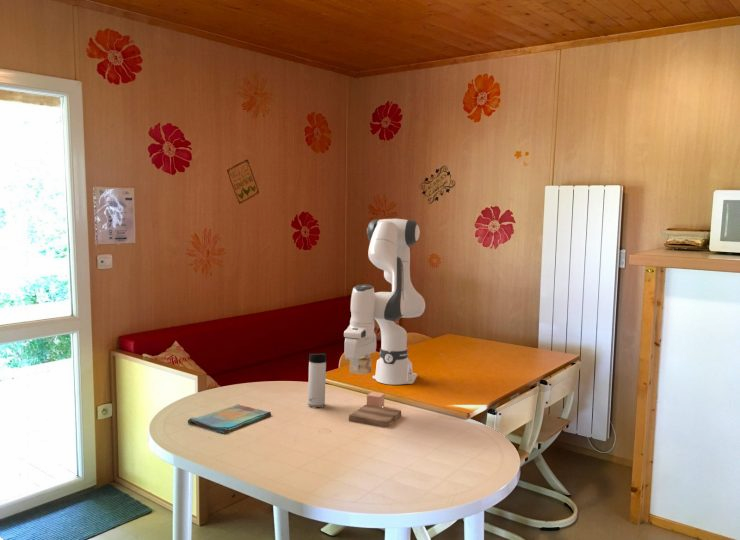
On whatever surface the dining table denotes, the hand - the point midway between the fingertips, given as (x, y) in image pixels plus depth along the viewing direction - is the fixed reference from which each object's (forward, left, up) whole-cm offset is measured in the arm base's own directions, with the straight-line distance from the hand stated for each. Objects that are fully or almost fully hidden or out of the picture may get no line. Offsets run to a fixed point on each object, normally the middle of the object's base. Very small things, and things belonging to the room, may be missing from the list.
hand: (360, 367), depth 215 cm
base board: (+5, +8, -16) cm, 19 cm away
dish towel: (+30, -35, -17) cm, 49 cm away
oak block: (0, 0, -2) cm, 2 cm away
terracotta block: (-7, +4, -16) cm, 18 cm away
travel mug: (+2, -16, -16) cm, 23 cm away
